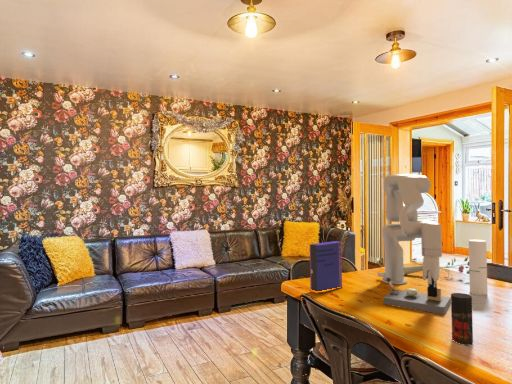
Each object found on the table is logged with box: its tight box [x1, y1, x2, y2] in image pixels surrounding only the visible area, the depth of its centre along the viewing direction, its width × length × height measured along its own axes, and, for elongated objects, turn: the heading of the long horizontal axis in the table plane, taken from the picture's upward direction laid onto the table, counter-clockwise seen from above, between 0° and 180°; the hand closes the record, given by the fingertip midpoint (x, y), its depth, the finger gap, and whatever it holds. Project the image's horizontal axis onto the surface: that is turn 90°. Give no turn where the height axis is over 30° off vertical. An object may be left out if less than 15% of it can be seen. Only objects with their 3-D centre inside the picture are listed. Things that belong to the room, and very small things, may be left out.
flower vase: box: [404, 256, 469, 279], centre depth 201 cm, size 12×12×35 cm
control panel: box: [382, 288, 451, 316], centre depth 154 cm, size 24×16×4 cm, turn 53°
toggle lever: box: [386, 277, 395, 291], centre depth 161 cm, size 2×2×6 cm
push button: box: [405, 287, 418, 296], centre depth 155 cm, size 4×4×2 cm
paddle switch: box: [426, 286, 442, 301], centre depth 150 cm, size 5×2×5 cm, turn 53°
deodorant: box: [450, 292, 474, 345], centre depth 116 cm, size 6×6×15 cm
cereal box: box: [309, 240, 343, 291], centre depth 180 cm, size 17×5×24 cm, turn 123°
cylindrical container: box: [468, 239, 488, 296], centre depth 169 cm, size 7×7×25 cm
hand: (432, 296), depth 147 cm, fingers closed
